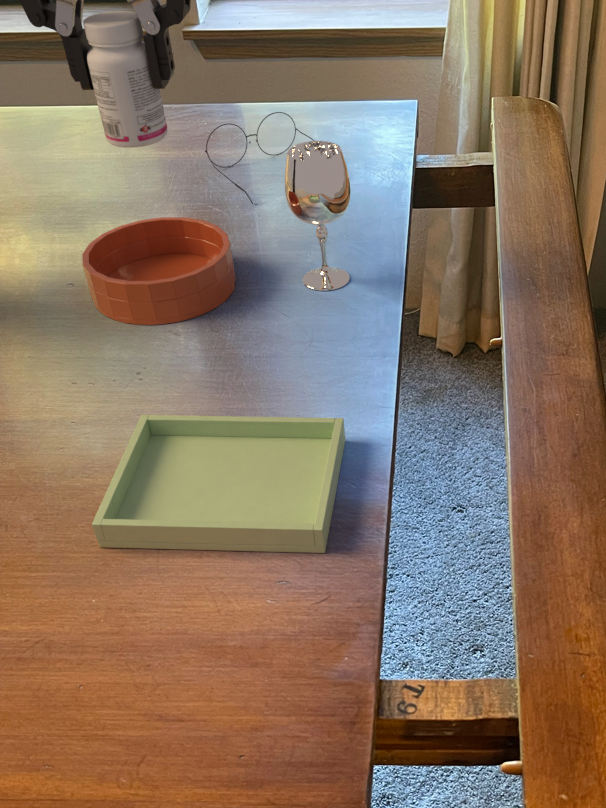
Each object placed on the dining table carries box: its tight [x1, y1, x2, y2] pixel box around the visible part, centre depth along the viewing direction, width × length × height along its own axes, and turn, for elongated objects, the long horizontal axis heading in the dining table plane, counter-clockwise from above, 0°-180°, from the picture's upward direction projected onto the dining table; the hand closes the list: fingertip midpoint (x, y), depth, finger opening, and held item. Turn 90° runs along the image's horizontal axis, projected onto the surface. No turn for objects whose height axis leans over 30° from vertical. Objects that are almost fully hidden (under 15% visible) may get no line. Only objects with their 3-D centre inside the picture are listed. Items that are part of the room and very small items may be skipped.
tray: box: [91, 414, 346, 554], centre depth 66 cm, size 15×12×2 cm
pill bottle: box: [82, 10, 168, 149], centre depth 71 cm, size 5×5×8 cm
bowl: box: [81, 216, 237, 326], centre depth 88 cm, size 13×13×4 cm
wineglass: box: [284, 140, 352, 292], centre depth 85 cm, size 6×6×12 cm
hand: (125, 85), depth 71 cm, fingers closed on pill bottle, 4 cm apart
